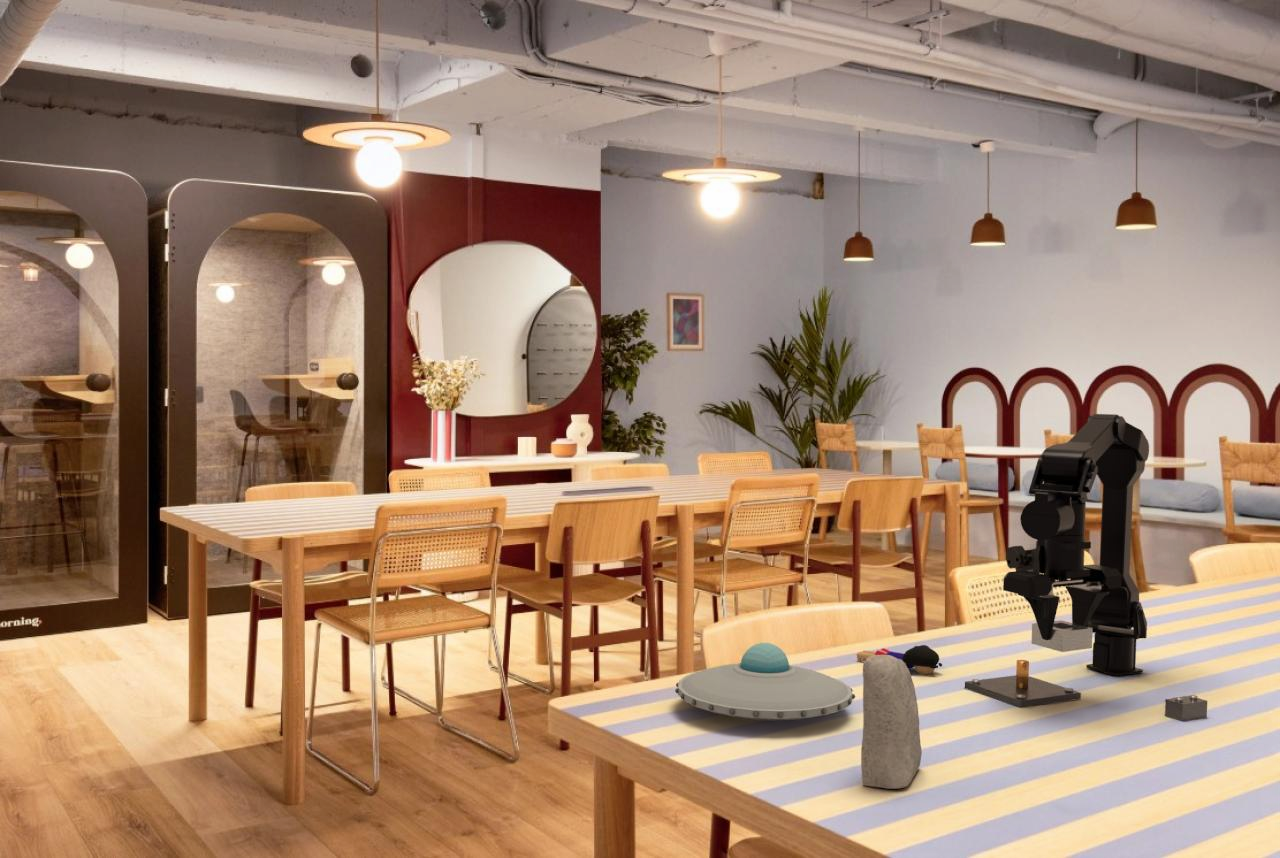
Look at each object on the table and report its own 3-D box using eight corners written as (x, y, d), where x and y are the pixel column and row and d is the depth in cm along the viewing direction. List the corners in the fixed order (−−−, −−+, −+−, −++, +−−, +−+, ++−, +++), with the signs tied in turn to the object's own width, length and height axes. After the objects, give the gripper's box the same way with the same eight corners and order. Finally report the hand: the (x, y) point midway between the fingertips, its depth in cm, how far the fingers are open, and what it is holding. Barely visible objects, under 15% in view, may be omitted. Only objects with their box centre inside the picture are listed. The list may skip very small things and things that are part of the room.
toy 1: (637, 712, 172) (638, 642, 172) (744, 680, 192) (745, 617, 191) (788, 751, 155) (789, 674, 155) (888, 712, 175) (890, 643, 174)
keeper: (1023, 680, 194) (1024, 649, 194) (1080, 699, 183) (1081, 666, 183) (964, 688, 189) (965, 656, 188) (1020, 707, 178) (1021, 673, 178)
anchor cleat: (1189, 711, 177) (1189, 692, 177) (1206, 717, 174) (1207, 697, 174) (1164, 715, 175) (1165, 696, 175) (1182, 721, 172) (1183, 701, 172)
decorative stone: (883, 760, 152) (886, 642, 152) (930, 768, 149) (933, 648, 149) (853, 785, 143) (856, 659, 142) (903, 794, 140) (906, 666, 139)
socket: (1060, 639, 184) (1061, 620, 184) (1091, 648, 179) (1092, 628, 179) (1031, 643, 182) (1032, 623, 181) (1062, 652, 176) (1062, 631, 176)
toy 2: (843, 669, 202) (924, 682, 192) (843, 642, 202) (923, 653, 192) (876, 660, 210) (955, 671, 200) (875, 633, 210) (954, 643, 200)
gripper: (1068, 523, 191) (1065, 621, 192) (978, 529, 182) (975, 632, 183) (1125, 532, 181) (1122, 636, 182) (1033, 539, 173) (1030, 648, 173)
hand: (1061, 637), depth 180 cm, fingers closed on socket, 6 cm apart
